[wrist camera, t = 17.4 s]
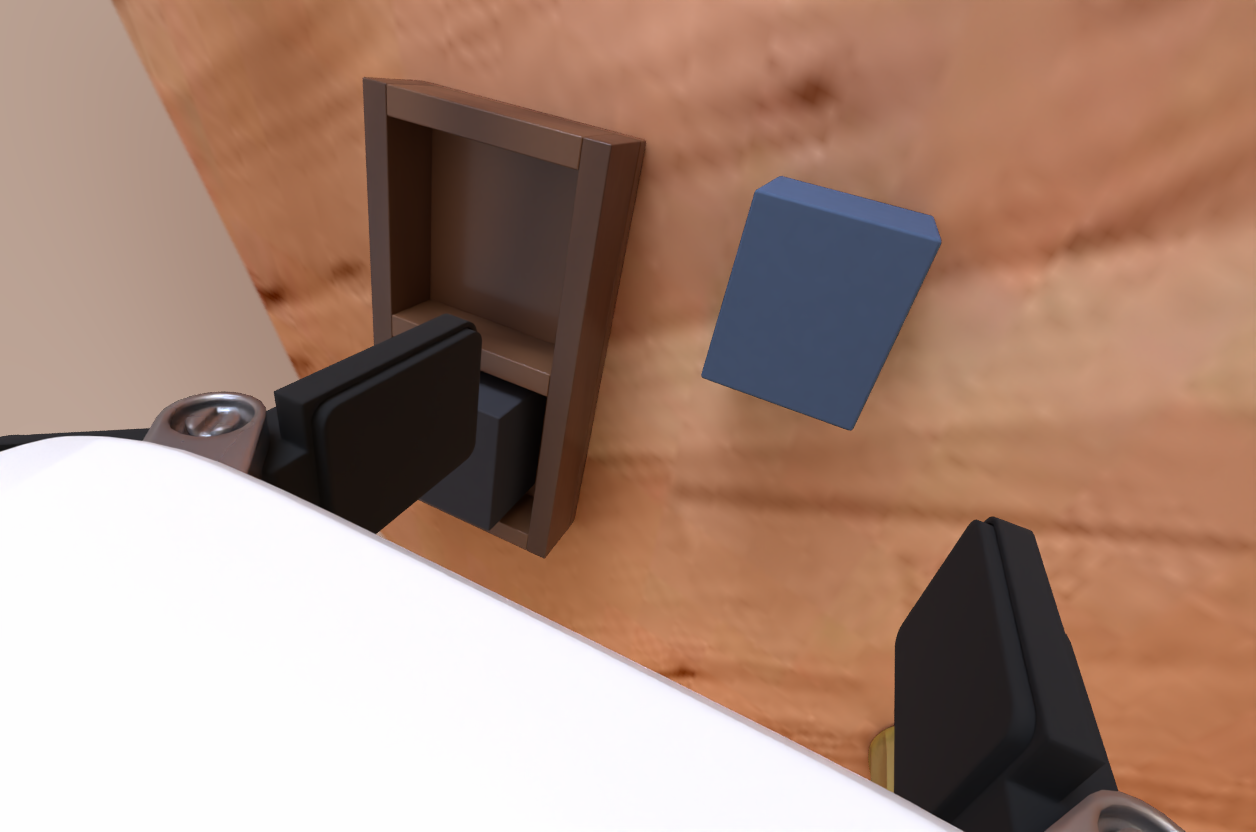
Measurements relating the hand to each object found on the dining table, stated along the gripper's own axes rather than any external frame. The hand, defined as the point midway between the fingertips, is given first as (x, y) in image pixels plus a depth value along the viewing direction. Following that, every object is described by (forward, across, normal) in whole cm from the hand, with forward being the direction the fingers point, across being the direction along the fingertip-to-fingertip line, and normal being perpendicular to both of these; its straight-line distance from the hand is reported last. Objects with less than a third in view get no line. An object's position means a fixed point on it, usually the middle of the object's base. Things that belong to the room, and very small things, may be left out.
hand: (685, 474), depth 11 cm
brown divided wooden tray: (+12, +11, +5) cm, 17 cm away
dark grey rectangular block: (+12, +11, +9) cm, 19 cm away
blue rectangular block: (+12, -1, -1) cm, 12 cm away
